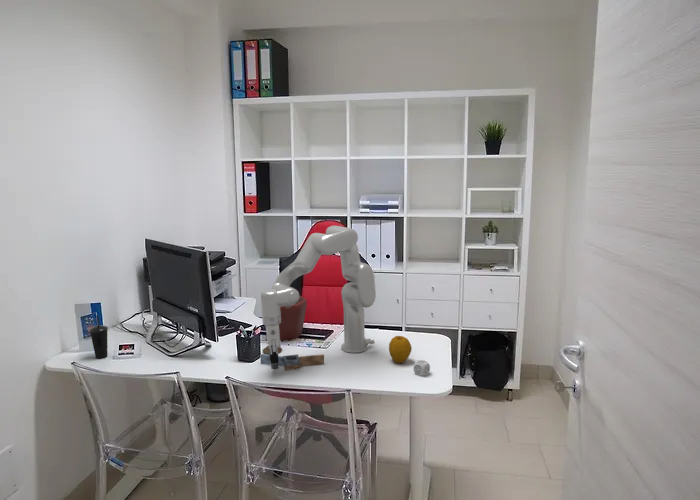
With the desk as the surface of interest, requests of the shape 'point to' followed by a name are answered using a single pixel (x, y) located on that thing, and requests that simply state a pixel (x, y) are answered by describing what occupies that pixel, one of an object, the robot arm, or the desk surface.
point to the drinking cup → (99, 340)
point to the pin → (274, 365)
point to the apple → (399, 349)
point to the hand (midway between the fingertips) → (274, 360)
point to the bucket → (292, 320)
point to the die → (421, 368)
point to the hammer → (294, 360)
